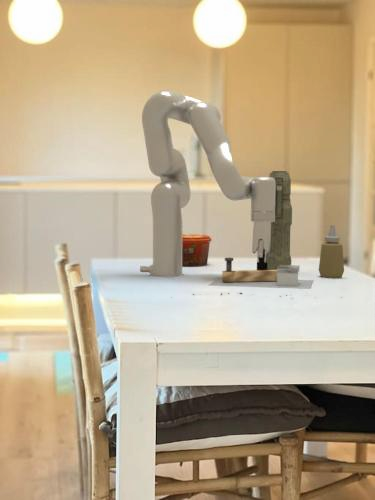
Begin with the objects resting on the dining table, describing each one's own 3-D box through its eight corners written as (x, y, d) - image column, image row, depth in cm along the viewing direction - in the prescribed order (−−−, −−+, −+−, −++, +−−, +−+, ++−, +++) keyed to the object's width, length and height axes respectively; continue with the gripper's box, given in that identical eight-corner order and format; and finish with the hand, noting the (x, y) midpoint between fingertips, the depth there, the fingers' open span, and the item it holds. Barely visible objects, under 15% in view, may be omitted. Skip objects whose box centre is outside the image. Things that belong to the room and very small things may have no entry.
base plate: (207, 290, 259) (207, 285, 259) (218, 281, 278) (218, 277, 277) (309, 293, 253) (310, 288, 253) (313, 285, 272) (313, 280, 272)
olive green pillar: (266, 278, 287) (268, 171, 283) (262, 273, 298) (263, 170, 295) (293, 278, 287) (295, 171, 284) (288, 273, 299) (289, 171, 295)
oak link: (224, 282, 263) (224, 258, 263) (220, 280, 267) (220, 257, 266) (296, 280, 269) (296, 257, 268) (291, 278, 273) (292, 256, 272)
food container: (171, 261, 333) (171, 233, 332) (213, 262, 331) (213, 234, 330) (164, 266, 317) (165, 237, 316) (208, 267, 315) (208, 238, 314)
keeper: (276, 285, 259) (277, 267, 258) (279, 282, 267) (279, 264, 266) (297, 286, 258) (297, 268, 257) (299, 282, 265) (299, 265, 265)
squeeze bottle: (343, 283, 276) (345, 226, 274) (317, 282, 277) (319, 225, 276) (344, 280, 284) (345, 224, 282) (319, 279, 285) (320, 224, 283)
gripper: (253, 215, 280) (252, 272, 281) (248, 217, 265) (247, 278, 267) (277, 215, 278) (276, 272, 280) (272, 218, 264) (271, 278, 265)
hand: (262, 275), depth 273 cm, fingers closed
